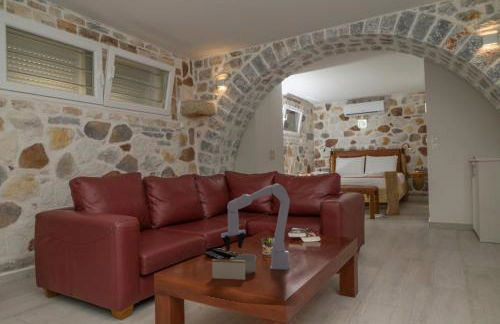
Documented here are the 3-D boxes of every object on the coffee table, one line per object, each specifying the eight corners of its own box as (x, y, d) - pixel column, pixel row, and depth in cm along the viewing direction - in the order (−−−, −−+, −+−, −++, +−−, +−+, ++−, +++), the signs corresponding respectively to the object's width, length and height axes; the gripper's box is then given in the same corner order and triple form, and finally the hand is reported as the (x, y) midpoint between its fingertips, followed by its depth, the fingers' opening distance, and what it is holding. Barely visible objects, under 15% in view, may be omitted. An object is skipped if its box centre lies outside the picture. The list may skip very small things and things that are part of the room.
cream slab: (245, 278, 160) (245, 260, 160) (245, 279, 158) (244, 261, 158) (213, 277, 163) (212, 259, 163) (211, 278, 161) (211, 260, 161)
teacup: (259, 269, 173) (258, 254, 173) (253, 276, 162) (253, 260, 162) (233, 268, 176) (233, 252, 176) (226, 274, 166) (226, 258, 166)
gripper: (240, 220, 183) (240, 245, 183) (217, 224, 175) (218, 250, 175) (247, 222, 178) (248, 247, 178) (224, 226, 169) (225, 252, 169)
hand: (234, 249), depth 176 cm, fingers open, 7 cm apart
